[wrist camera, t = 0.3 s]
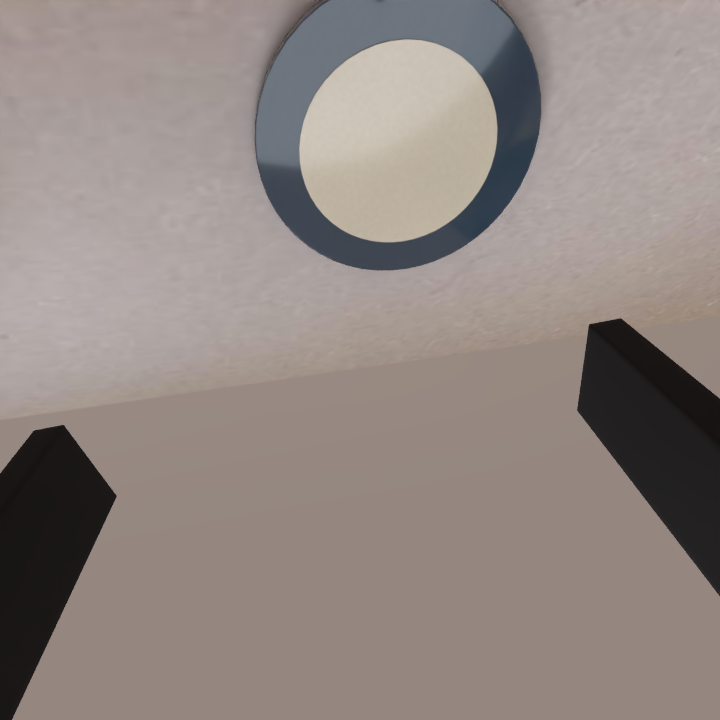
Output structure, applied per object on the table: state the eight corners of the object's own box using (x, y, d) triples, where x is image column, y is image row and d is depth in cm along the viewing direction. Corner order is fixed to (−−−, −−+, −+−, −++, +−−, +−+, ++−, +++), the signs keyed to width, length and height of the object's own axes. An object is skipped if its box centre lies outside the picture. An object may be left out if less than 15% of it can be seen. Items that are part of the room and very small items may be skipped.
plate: (414, -146, 21) (418, -146, 20) (583, 143, 33) (590, 150, 32) (199, 157, 31) (196, 165, 30) (386, 297, 43) (388, 306, 42)
